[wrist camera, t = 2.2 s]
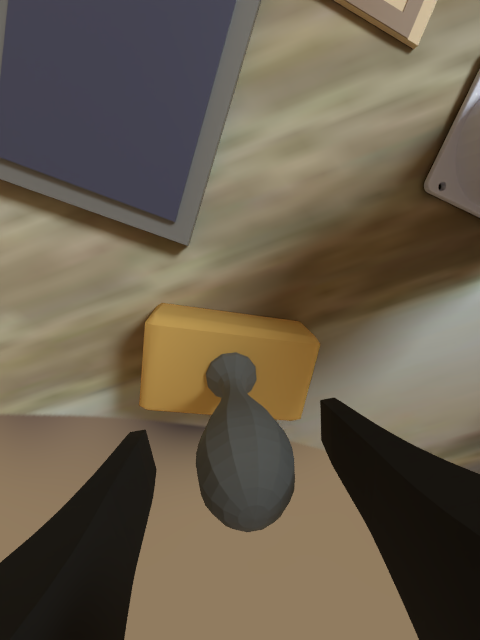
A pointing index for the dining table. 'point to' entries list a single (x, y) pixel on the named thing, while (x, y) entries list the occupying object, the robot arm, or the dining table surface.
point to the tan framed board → (395, 16)
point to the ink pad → (120, 102)
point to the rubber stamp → (232, 401)
